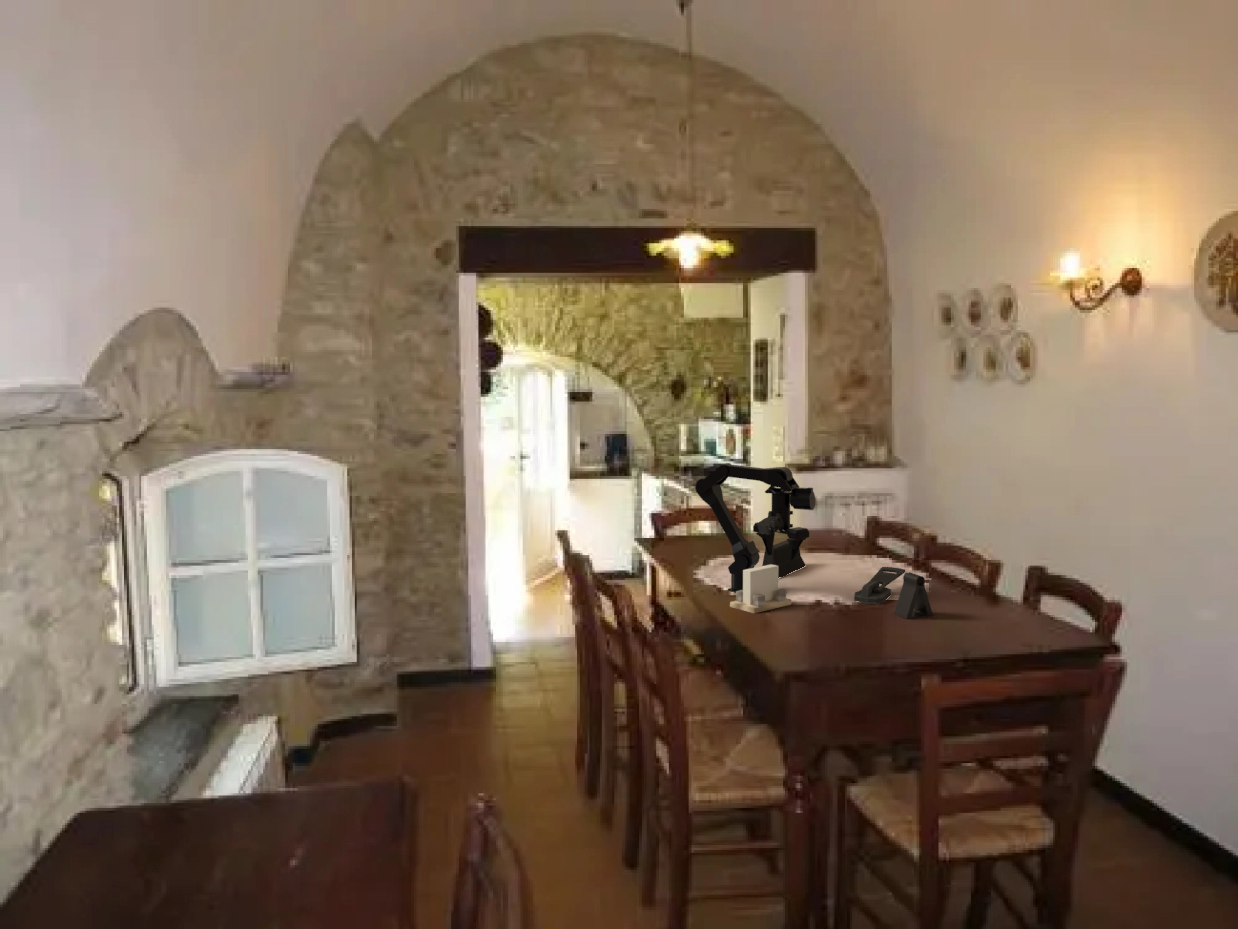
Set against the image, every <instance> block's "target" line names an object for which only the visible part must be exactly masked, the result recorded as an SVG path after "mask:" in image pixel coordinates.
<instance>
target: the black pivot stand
mask: <svg viewBox="0 0 1238 929" xmlns="http://www.w3.org/2000/svg"><path fill="white" fill-rule="evenodd" d="M902 576H903V578H902V579H903V583H902V586H901V590H900V593H899V595H898V599H897V602H896V605H895V608H894V611H893V614H894V615H895V616H899V617H900V618H902V619H905V620H912V619H920V618H930V617H933V616H934V614H933V610H932V606H931V604H930V600H929V597H928V593H927V591H926V586H925V582H926V578H925V577H924V576H922V575H920V574H916V573H912V572H910V571H909V572H907V571H905V573H903V575H902Z"/></svg>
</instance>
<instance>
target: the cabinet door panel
mask: <svg viewBox="0 0 1238 929" xmlns="http://www.w3.org/2000/svg"><path fill="white" fill-rule="evenodd" d="M776 590H779V579H778V566H776V565H772V564H771V565H766V566H754V568H750V569H745V570H743V603H745V604H749V605H752V604H753V595H758V594H762V595H765V601H769V600H774V591H776Z"/></svg>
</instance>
